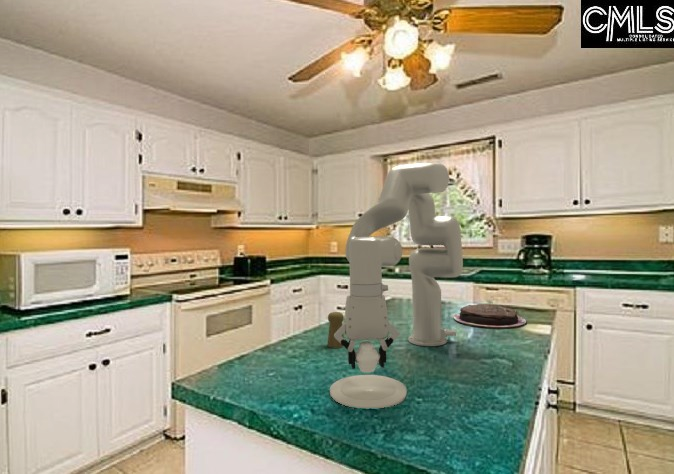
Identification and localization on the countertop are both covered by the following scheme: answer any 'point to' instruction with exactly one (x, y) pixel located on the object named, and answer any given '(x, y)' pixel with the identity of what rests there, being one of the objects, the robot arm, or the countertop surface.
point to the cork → (334, 329)
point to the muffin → (367, 357)
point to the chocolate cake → (489, 317)
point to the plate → (368, 391)
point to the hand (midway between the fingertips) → (367, 365)
